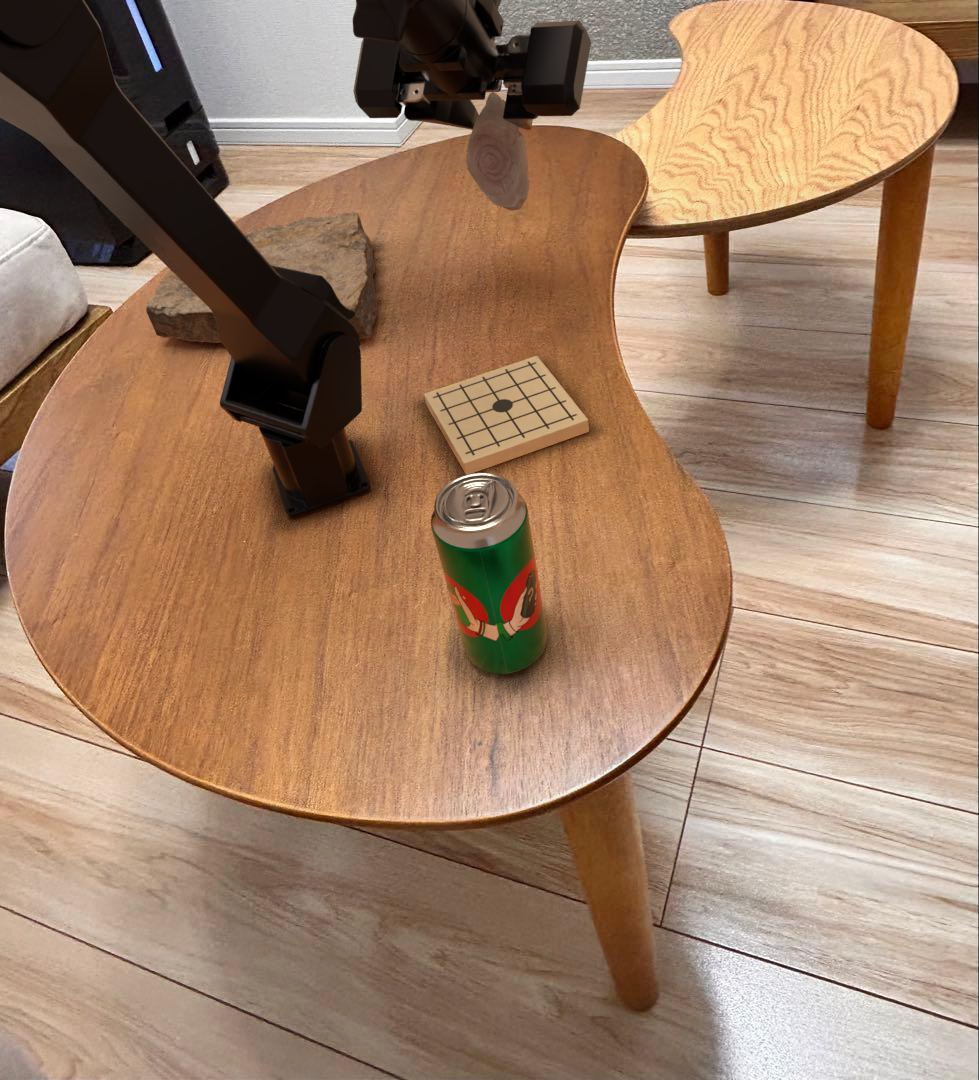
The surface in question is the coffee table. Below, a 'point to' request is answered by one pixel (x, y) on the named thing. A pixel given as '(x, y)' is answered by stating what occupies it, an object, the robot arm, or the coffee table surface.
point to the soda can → (490, 571)
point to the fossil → (498, 156)
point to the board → (505, 414)
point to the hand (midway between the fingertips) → (504, 124)
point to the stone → (298, 246)
